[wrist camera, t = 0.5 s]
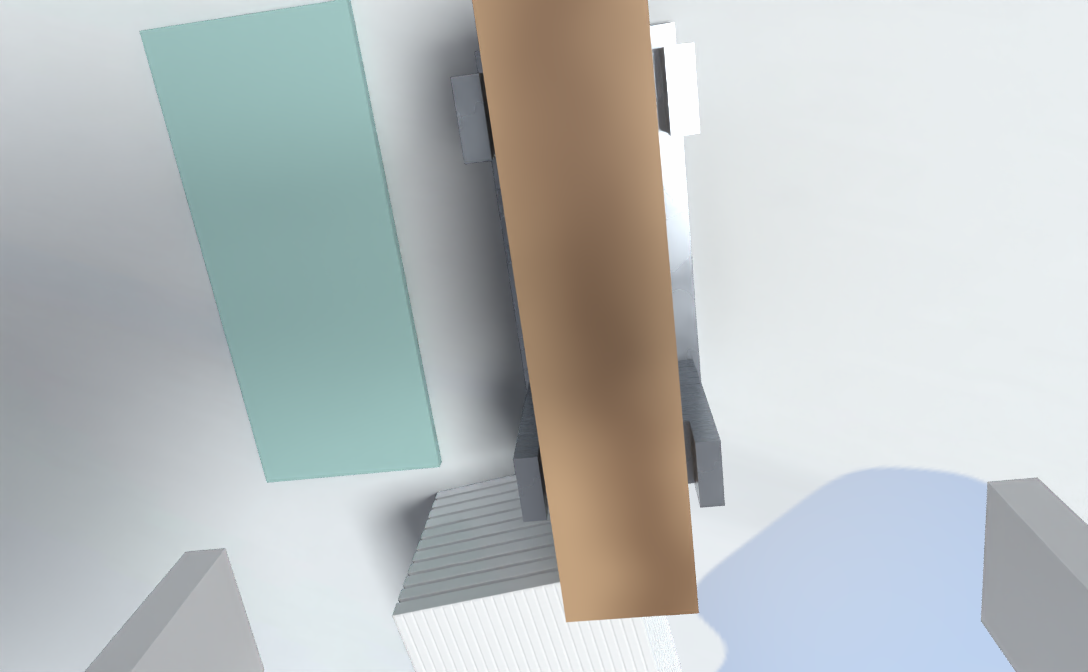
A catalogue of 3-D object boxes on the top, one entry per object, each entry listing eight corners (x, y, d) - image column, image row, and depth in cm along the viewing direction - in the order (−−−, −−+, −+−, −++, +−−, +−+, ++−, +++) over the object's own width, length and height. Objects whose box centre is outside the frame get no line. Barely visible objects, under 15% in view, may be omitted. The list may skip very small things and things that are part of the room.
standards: (536, 436, 43) (519, 542, 33) (477, 51, 36) (437, 47, 27) (702, 421, 42) (733, 525, 32) (672, 23, 35) (700, 9, 26)
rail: (570, 532, 35) (565, 622, 30) (496, 11, 28) (472, -1, 22) (681, 523, 35) (698, 613, 29) (634, -9, 28) (645, -27, 22)
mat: (271, 477, 44) (266, 482, 44) (146, 31, 37) (139, 30, 36) (441, 461, 43) (439, 466, 43) (350, 0, 36) (346, -1, 35)
